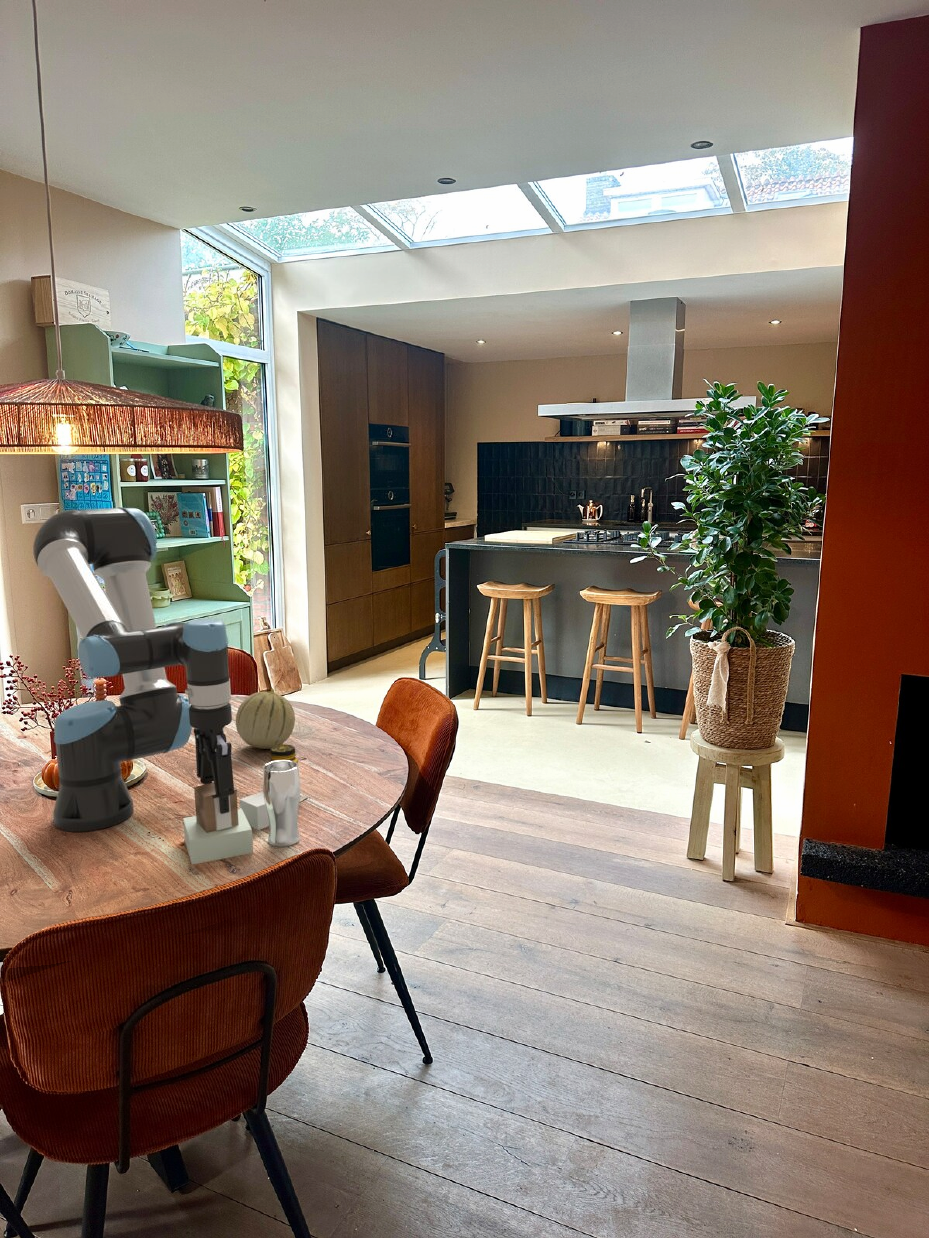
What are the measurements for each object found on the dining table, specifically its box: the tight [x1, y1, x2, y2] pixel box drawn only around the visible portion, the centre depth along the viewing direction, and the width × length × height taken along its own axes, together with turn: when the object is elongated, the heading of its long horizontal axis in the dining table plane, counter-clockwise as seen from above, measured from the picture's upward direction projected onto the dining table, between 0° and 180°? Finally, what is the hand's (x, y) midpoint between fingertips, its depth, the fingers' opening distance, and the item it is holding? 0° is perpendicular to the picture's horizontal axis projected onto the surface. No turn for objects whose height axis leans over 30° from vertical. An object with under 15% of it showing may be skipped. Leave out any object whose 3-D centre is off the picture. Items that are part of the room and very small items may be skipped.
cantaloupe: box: [235, 688, 296, 750], centre depth 215 cm, size 15×15×15 cm
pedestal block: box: [182, 807, 254, 865], centre depth 159 cm, size 11×11×5 cm
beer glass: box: [262, 760, 301, 848], centre depth 161 cm, size 7×7×15 cm
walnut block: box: [193, 782, 239, 833], centre depth 158 cm, size 6×6×7 cm
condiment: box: [268, 744, 309, 803], centre depth 181 cm, size 7×8×12 cm
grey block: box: [239, 790, 270, 831], centre depth 171 cm, size 6×6×5 cm
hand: (217, 821), depth 159 cm, fingers closed on walnut block, 6 cm apart
